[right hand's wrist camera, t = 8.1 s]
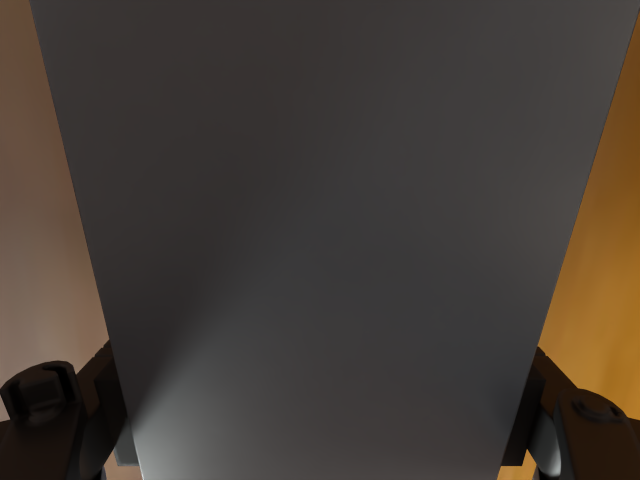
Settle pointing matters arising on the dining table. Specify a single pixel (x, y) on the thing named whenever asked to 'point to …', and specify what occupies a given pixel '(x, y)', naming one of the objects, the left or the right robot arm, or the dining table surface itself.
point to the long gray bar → (328, 218)
